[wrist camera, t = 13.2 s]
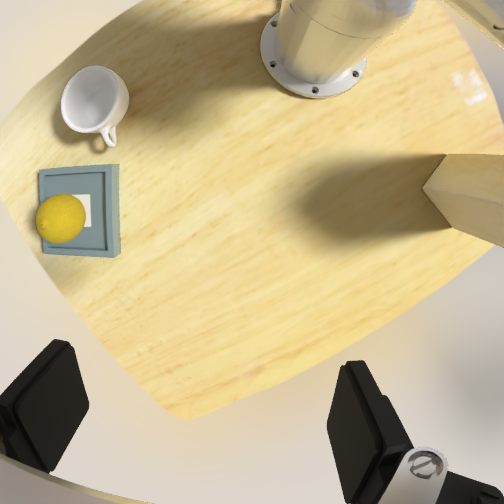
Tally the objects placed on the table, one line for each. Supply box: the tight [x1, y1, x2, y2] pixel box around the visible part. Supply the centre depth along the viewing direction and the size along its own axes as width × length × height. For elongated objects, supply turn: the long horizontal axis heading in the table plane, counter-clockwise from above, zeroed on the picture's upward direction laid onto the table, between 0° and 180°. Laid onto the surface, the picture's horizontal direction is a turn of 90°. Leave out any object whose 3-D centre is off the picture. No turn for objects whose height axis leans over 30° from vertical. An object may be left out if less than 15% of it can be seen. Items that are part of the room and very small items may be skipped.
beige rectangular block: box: [422, 154, 504, 248], centre depth 26 cm, size 8×7×21 cm
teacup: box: [61, 65, 129, 147], centre depth 31 cm, size 10×8×5 cm
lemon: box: [35, 194, 86, 243], centre depth 31 cm, size 6×6×8 cm
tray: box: [39, 164, 121, 258], centre depth 35 cm, size 11×11×2 cm
